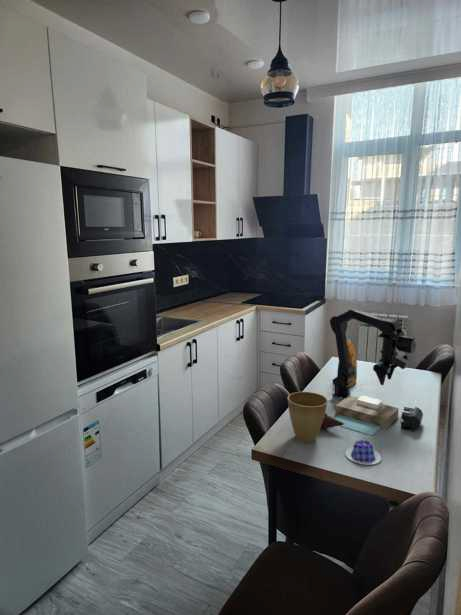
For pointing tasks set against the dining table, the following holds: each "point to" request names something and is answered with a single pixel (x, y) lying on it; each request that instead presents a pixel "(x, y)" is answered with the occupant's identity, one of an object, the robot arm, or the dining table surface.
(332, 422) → the icecream
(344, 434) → the dining table surface
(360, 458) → the pudding
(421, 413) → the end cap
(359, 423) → the mat
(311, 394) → the plant pot
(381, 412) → the tan flat block
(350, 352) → the coffee package
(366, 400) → the white box
